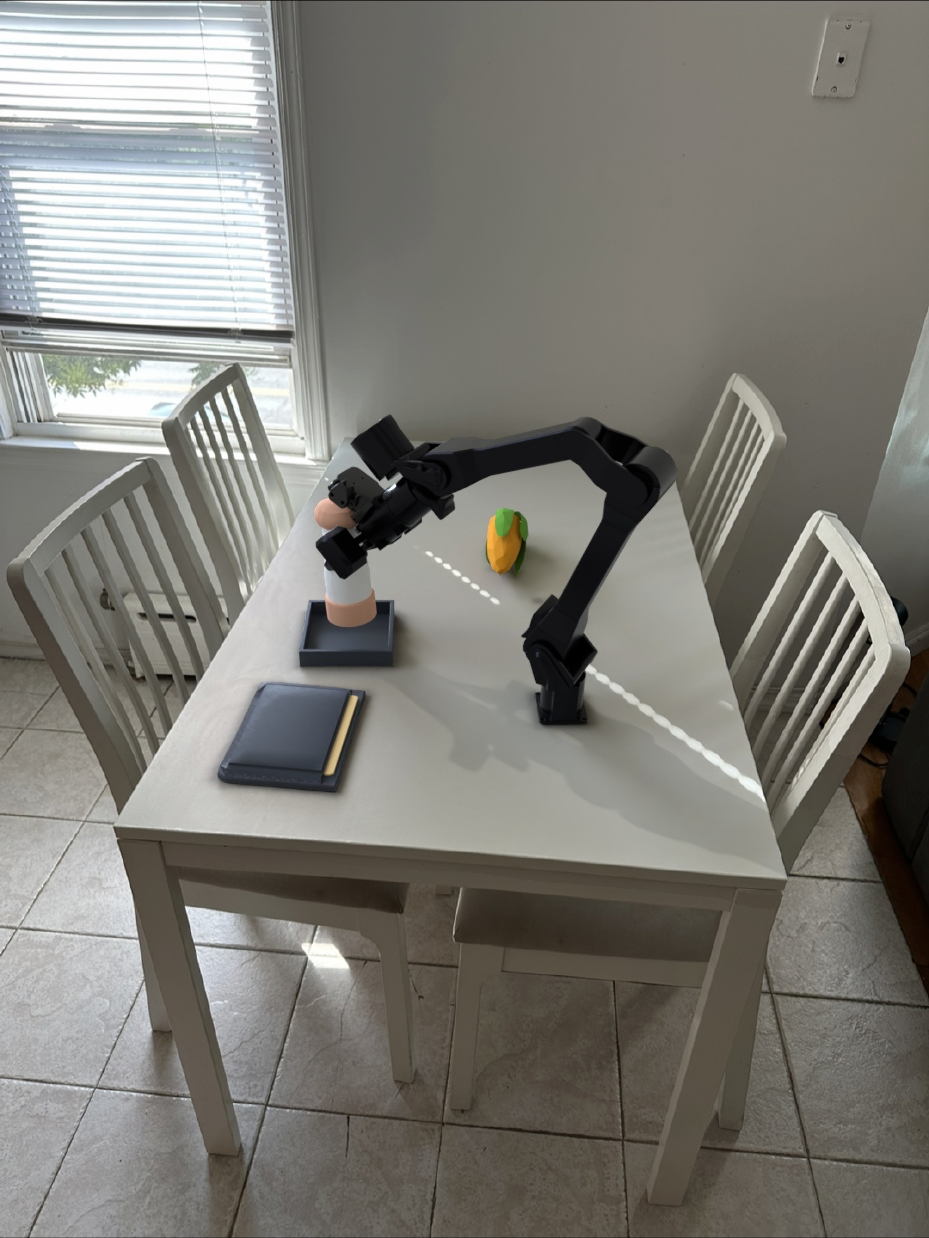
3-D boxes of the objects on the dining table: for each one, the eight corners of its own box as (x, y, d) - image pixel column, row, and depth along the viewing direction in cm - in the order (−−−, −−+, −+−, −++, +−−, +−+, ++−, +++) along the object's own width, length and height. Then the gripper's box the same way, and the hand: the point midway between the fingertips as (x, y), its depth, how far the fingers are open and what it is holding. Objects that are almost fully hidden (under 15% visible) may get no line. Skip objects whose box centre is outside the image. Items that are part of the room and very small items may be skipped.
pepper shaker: (318, 623, 134) (300, 503, 124) (340, 598, 140) (325, 481, 130) (364, 630, 132) (350, 508, 122) (384, 605, 138) (372, 486, 128)
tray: (392, 666, 133) (392, 651, 131) (299, 666, 132) (298, 651, 130) (394, 614, 145) (394, 599, 143) (309, 614, 144) (308, 599, 142)
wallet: (261, 673, 127) (370, 683, 126) (262, 684, 128) (370, 695, 127) (209, 769, 110) (333, 783, 109) (210, 781, 111) (334, 795, 110)
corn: (529, 497, 164) (525, 549, 147) (529, 535, 168) (526, 590, 151) (487, 497, 165) (479, 549, 148) (489, 535, 169) (481, 590, 152)
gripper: (402, 434, 128) (341, 491, 138) (323, 480, 114) (261, 539, 124) (452, 498, 129) (387, 550, 139) (378, 552, 115) (312, 605, 125)
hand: (338, 559), depth 132 cm, fingers closed on pepper shaker, 5 cm apart
